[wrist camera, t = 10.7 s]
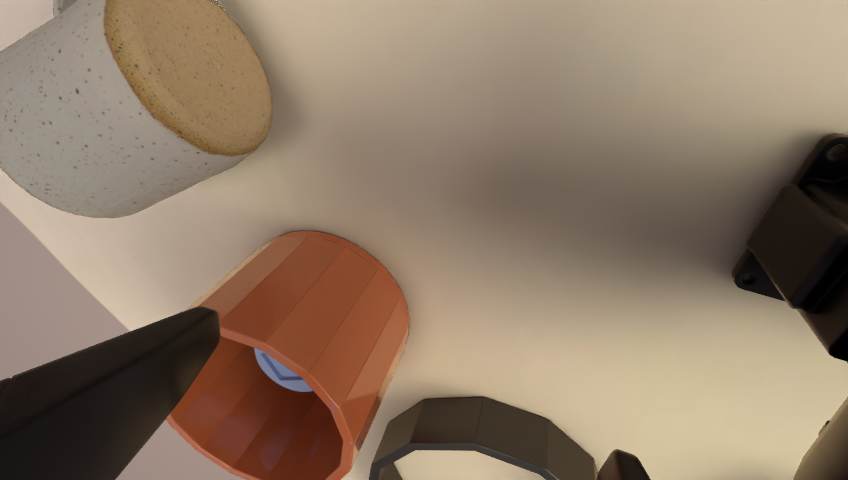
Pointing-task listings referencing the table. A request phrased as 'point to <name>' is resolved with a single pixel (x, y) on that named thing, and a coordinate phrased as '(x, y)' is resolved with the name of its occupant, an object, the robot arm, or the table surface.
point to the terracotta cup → (296, 360)
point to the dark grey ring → (482, 438)
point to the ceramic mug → (128, 103)
